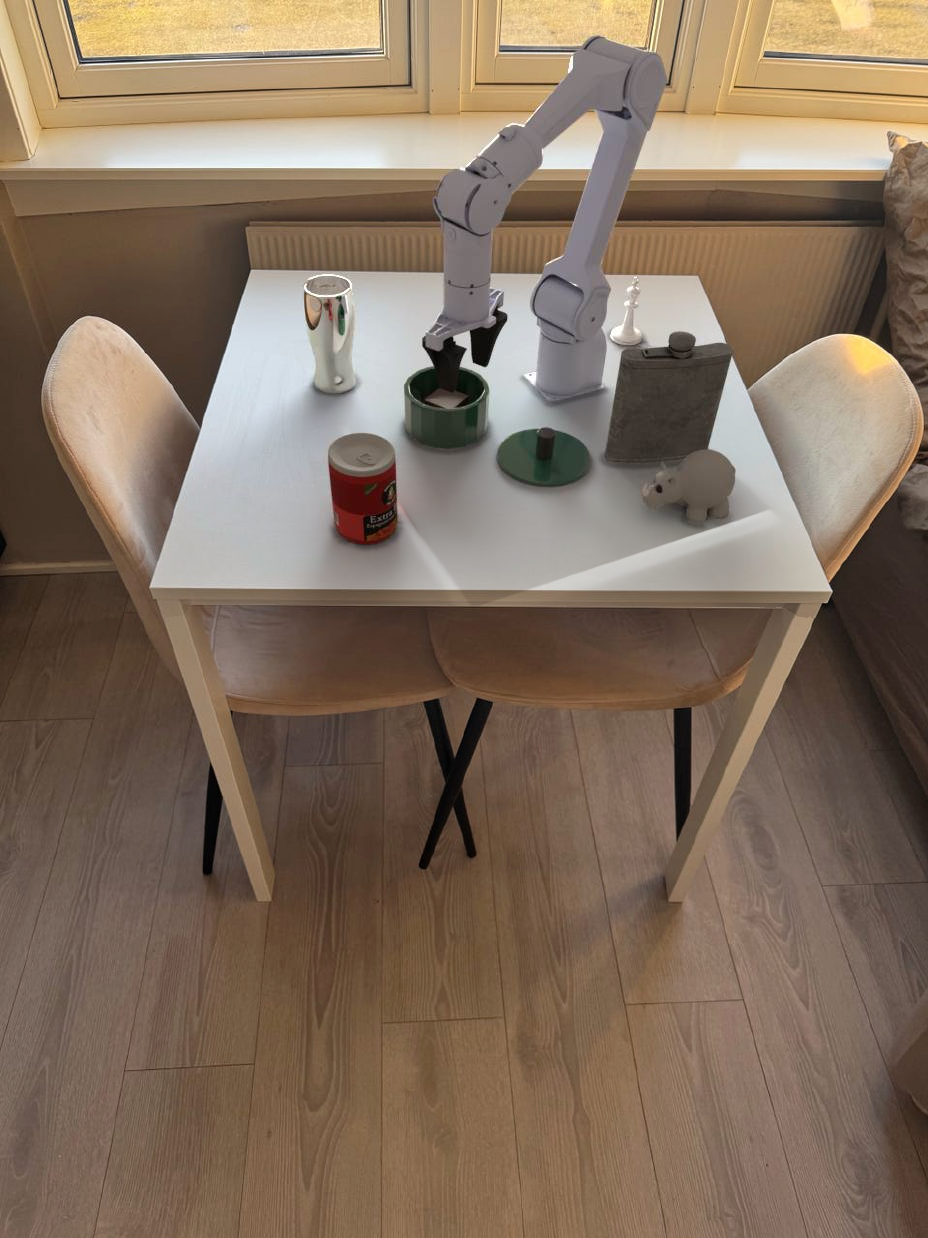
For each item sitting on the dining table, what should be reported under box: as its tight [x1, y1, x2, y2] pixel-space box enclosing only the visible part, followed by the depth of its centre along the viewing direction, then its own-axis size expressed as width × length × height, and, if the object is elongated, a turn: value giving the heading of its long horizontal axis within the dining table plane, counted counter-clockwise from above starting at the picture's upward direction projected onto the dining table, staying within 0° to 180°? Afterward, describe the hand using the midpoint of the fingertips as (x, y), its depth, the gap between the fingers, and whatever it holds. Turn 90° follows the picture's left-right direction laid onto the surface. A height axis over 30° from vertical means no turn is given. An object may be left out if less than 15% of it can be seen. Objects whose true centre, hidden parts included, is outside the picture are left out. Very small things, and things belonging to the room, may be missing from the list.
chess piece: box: [610, 276, 642, 346], centre depth 144 cm, size 5×5×10 cm
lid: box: [497, 426, 592, 488], centre depth 122 cm, size 12×12×5 cm
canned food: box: [327, 432, 398, 545], centre depth 110 cm, size 8×8×11 cm
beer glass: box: [302, 274, 357, 395], centre depth 131 cm, size 7×7×15 cm
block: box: [424, 388, 469, 409], centre depth 127 cm, size 4×4×4 cm
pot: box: [403, 365, 490, 450], centre depth 127 cm, size 11×12×6 cm
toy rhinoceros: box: [641, 448, 736, 524], centre depth 114 cm, size 7×12×8 cm, turn 105°
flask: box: [604, 330, 734, 464], centre depth 119 cm, size 4×14×18 cm, turn 100°
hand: (464, 376), depth 122 cm, fingers open, 7 cm apart
